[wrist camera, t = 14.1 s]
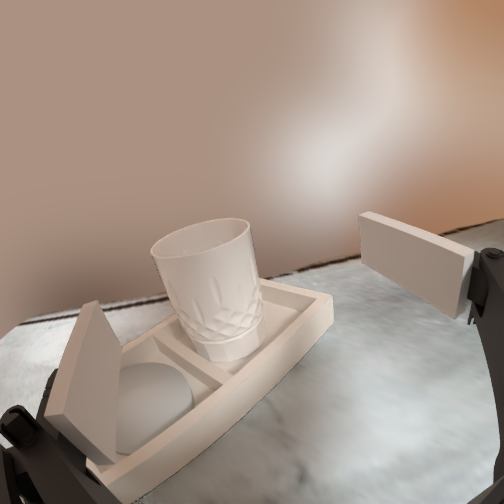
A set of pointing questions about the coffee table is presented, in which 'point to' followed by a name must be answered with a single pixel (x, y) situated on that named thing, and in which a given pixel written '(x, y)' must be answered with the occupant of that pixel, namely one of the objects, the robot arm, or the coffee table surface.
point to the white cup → (214, 286)
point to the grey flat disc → (149, 403)
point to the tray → (215, 384)
